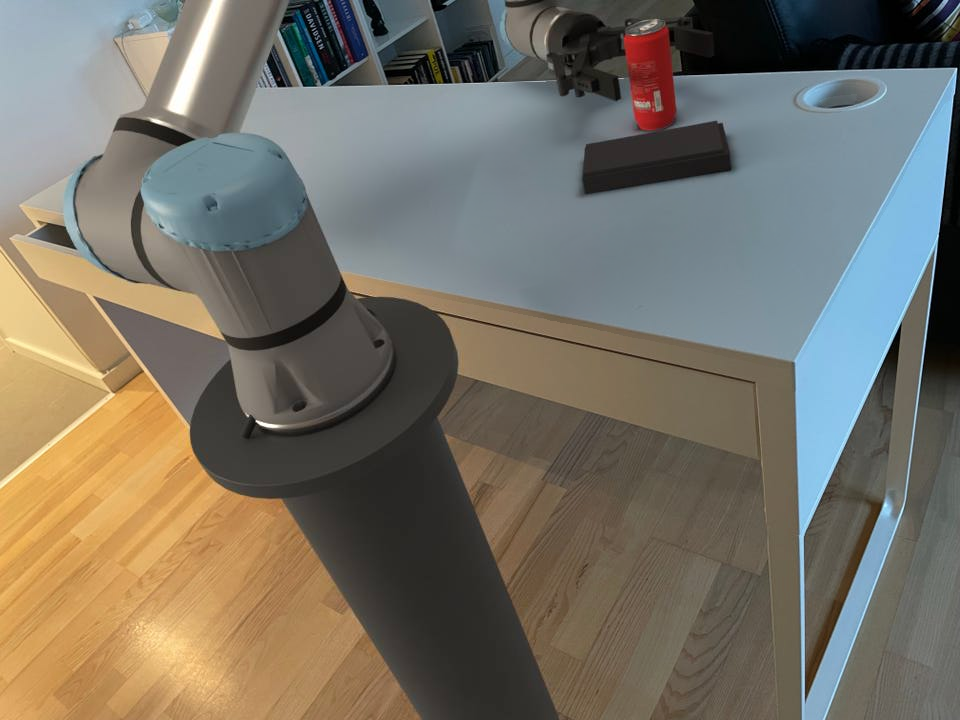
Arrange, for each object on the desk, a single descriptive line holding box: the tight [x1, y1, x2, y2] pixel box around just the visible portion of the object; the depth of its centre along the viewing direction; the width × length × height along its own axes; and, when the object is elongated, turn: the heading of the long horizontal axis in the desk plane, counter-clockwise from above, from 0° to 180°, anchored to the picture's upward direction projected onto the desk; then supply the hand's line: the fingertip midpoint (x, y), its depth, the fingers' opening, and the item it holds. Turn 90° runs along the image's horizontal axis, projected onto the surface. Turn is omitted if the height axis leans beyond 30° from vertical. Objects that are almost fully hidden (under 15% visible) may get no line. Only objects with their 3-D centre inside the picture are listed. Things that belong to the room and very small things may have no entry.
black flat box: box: [581, 120, 732, 194], centre depth 88 cm, size 16×8×2 cm, turn 82°
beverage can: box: [623, 18, 677, 132], centre depth 94 cm, size 5×5×12 cm
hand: (665, 66), depth 90 cm, fingers open, 13 cm apart
